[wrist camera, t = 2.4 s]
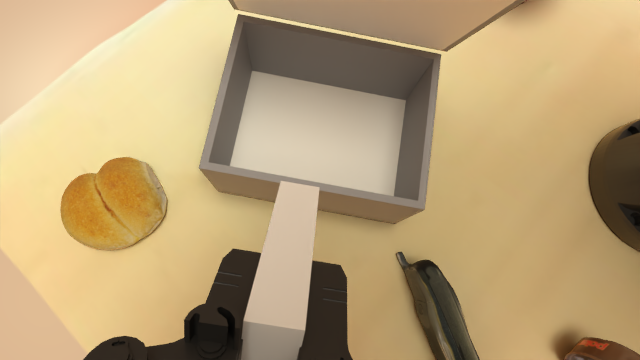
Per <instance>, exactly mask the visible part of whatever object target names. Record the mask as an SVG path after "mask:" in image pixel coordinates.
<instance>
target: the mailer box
mask: <svg viewBox="0 0 640 360" xmlns="http://www.w3.org/2000/svg"><path fill="white" fill-rule="evenodd" d="M440 60H441V54H436V53H431V52H426V51H421V50H416V49H411V48H406V47H401V46H396V45H391V44H386V43H381V42H376V41H371V40H366V39H361V38H356V37H351V36H346V35H341V34H336V33H331V32H326V31H321V30H316V29H311V28H306V27H301V26H296V25H291V24H286V23H281V22H276V21H271V20H265V19H260V18H255V17H250V16H245V15H240V14H238V17H237V21H236V25H235V28H234V32H233V36H232V40H231V44H230V48H229V52H228V56H227V60H226V64H225V68H224V71H223V75H222V79H221V83H220V87H219V91H218V95H217V99H216V103H215V107H214V111H213V114H212V118H211V122H210V126H209V130H208V134H207V138H206V142H205V146H204V150H203V154H202V157H201V161H200V165H199V169H200V170H201V171H202V172H203V174H204V175H205V176H206V177H207V178H208V180H209V181H210V182H211V183H212V184H213V186H214V187H215V188H216V189H217V190H218V192H223V193H228V194H234V195H239V196H245V197H250V198H256V199H261V200H267V201H272V202H275V201H276V197H277V194H278V190H279V186H280V183H281V181H286V182H291V183H297V184H303V185H309V186H315V187H320V188H319V198H318V208H317V210H322V211H327V212H333V213H338V214H344V215H349V216H355V217H360V218H366V219H371V220H377V221H382V222H388V223H393V224H395V223H397V222H400V221H402V220H404V219H406V218H408V217H410V216H412V215H414V214H416V213H419V212H421V211H423V210H425V202H426V192H427V183H428V173H429V164H430V154H431V145H432V136H433V126H434V117H435V107H436V98H437V88H438V79H439V69H440Z"/></svg>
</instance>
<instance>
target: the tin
mask: <svg viewBox="0 0 640 360" xmlns="http://www.w3.org/2000/svg"><path fill="white" fill-rule="evenodd" d="M565 360H640V355H639V354H638V353H636V352H634V351H632V350H631V349H629V348H627V347H625V346H623V345H621V344H618V343H616V342H613V341H608V340H603V339H598V338H583V339H581V340H580V341H579V342H578V343H577V344H576V346H575V347H574V348H573V349H572V350H571V352H569V353H567V354H566V356H565Z"/></svg>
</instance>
